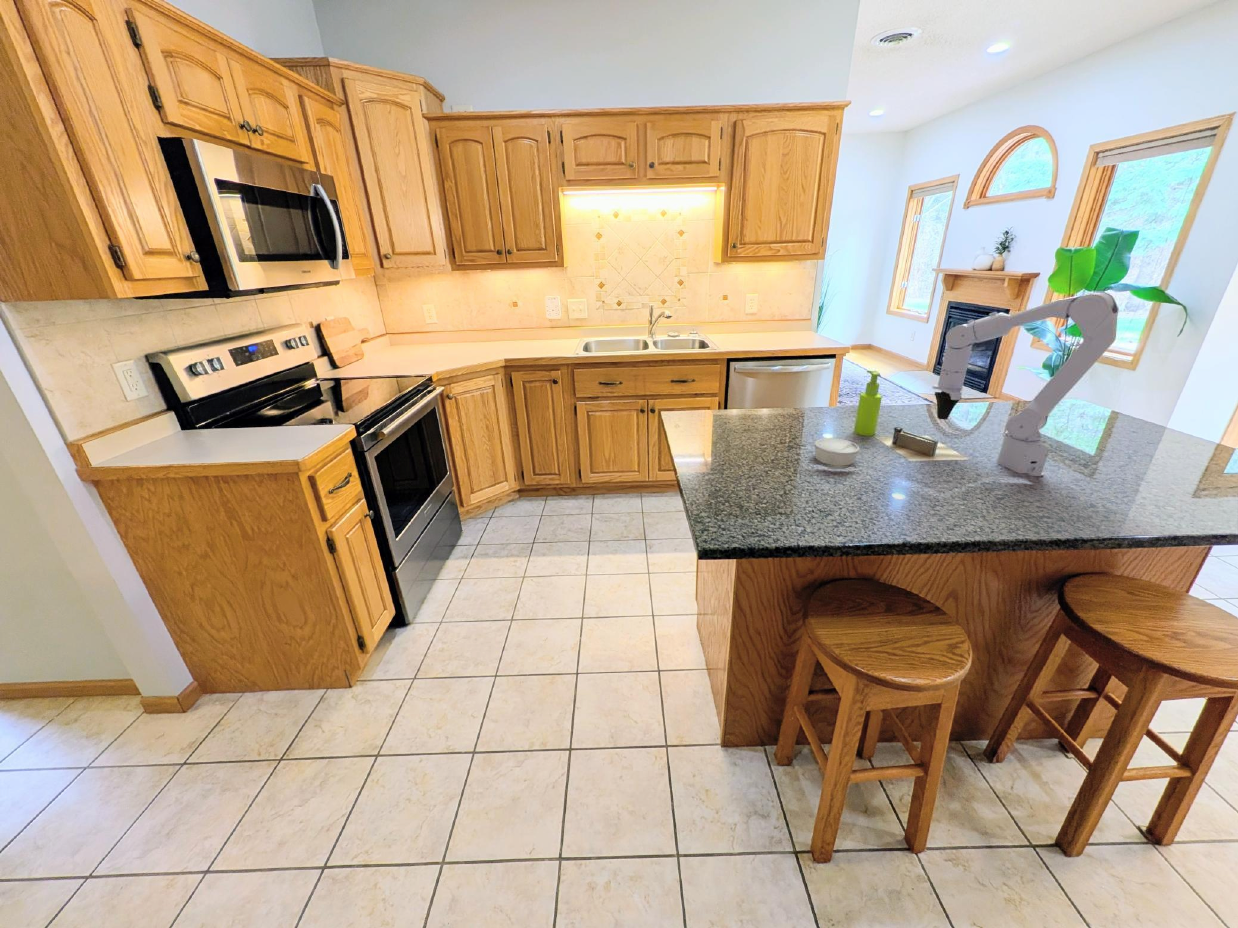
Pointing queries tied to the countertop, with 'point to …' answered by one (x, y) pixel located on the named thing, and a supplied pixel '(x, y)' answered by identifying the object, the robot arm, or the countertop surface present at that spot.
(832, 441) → the ramekin
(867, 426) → the soap dispenser
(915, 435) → the slate bar
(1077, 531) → the countertop surface
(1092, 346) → the robot arm
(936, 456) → the maple board
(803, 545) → the countertop surface
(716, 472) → the countertop surface
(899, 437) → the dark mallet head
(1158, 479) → the countertop surface
